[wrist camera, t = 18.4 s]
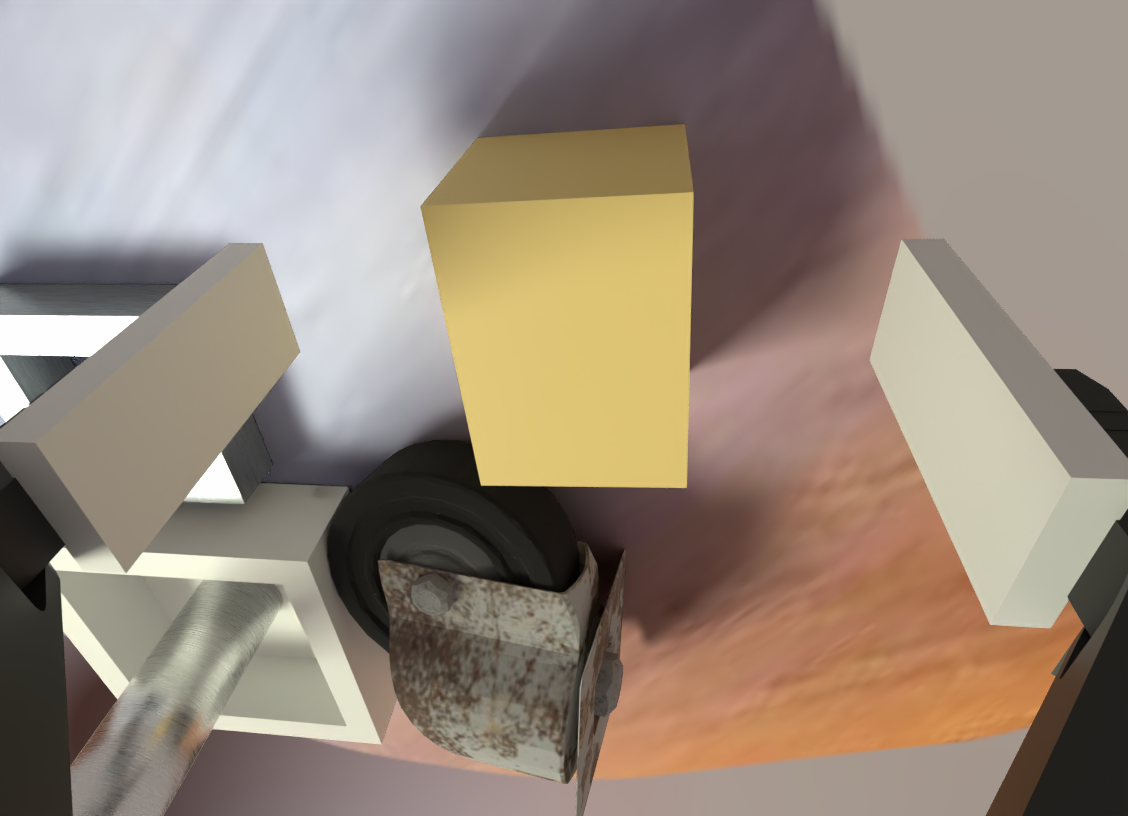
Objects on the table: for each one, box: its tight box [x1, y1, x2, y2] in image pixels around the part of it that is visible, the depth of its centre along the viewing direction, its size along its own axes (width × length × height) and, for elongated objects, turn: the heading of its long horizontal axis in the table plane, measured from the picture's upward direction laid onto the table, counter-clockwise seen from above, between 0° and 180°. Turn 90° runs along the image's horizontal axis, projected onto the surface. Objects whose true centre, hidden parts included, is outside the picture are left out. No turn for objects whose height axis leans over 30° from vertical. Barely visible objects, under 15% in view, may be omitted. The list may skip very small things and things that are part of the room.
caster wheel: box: [328, 440, 626, 816], centre depth 23 cm, size 7×11×10 cm
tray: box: [49, 483, 397, 744], centre depth 27 cm, size 11×11×4 cm
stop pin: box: [70, 580, 283, 816], centre depth 22 cm, size 4×4×13 cm
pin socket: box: [0, 284, 273, 504], centre depth 21 cm, size 7×7×2 cm
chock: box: [421, 124, 694, 488], centre depth 16 cm, size 7×5×5 cm
